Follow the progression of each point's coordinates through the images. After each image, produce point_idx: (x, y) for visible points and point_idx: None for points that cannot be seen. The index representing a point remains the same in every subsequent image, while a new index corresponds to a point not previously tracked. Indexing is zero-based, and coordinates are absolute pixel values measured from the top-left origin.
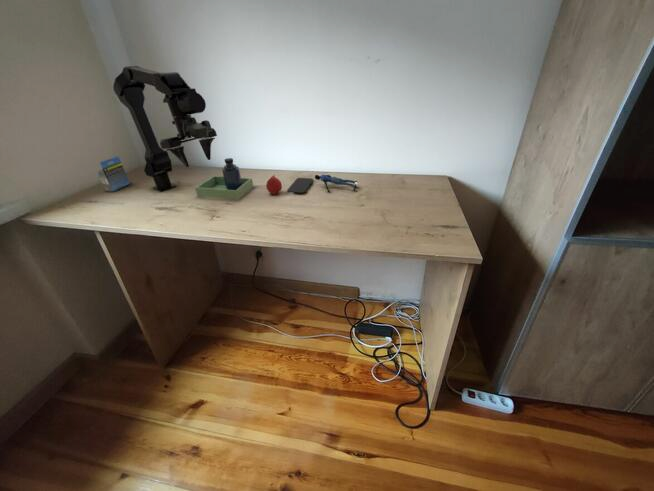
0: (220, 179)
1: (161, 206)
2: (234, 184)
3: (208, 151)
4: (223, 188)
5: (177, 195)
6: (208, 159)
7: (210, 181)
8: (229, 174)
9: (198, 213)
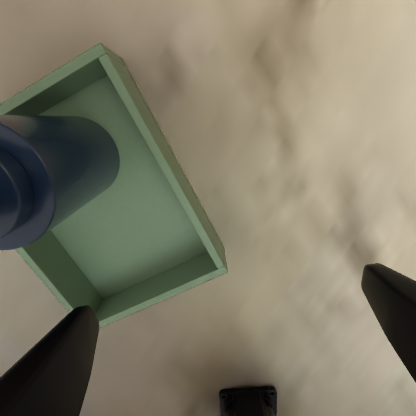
0: (76, 295)
1: (352, 278)
2: (64, 120)
3: (18, 393)
4: (102, 238)
5: (259, 321)
6: (94, 319)
7: (125, 303)
8: (40, 135)
9: (319, 96)
